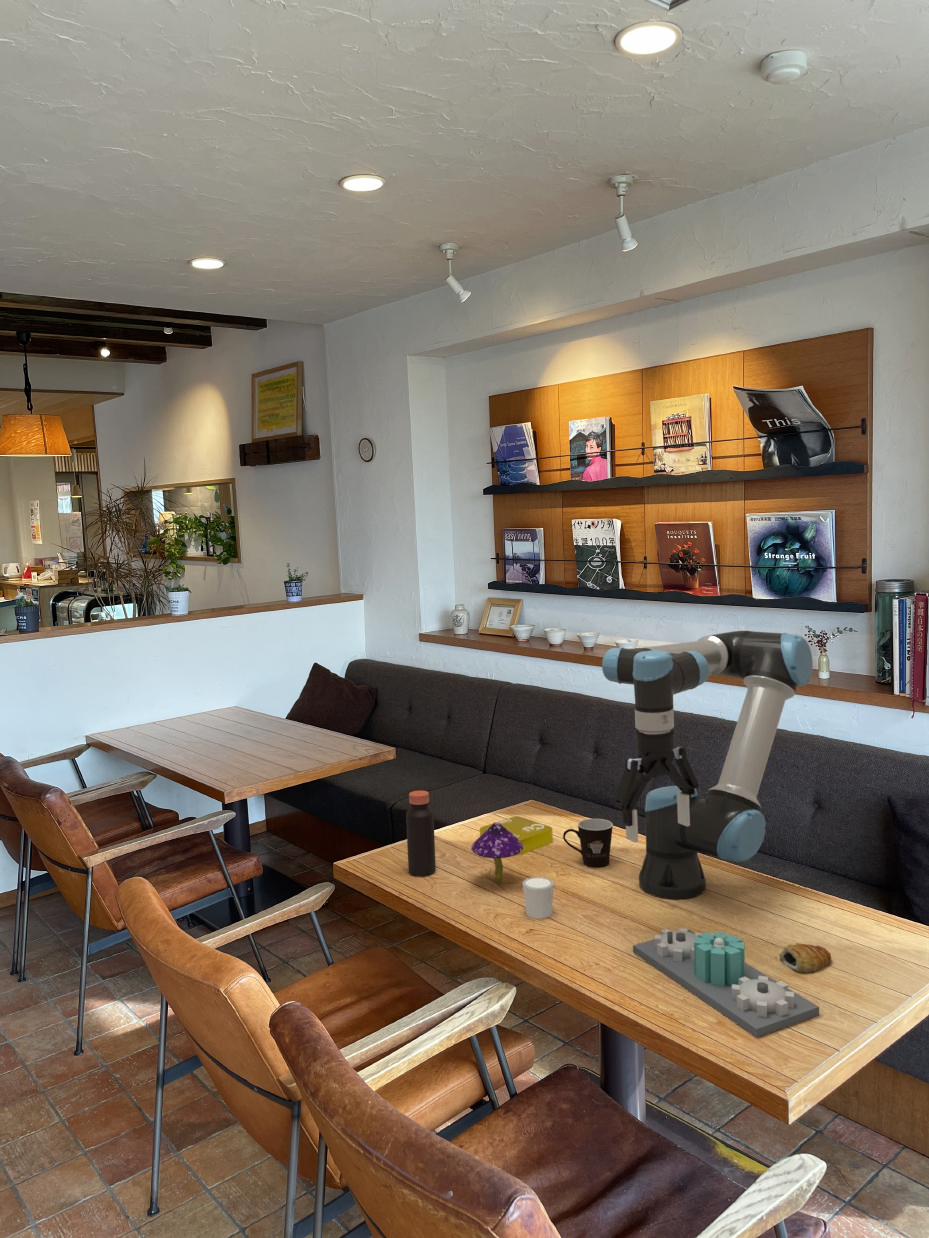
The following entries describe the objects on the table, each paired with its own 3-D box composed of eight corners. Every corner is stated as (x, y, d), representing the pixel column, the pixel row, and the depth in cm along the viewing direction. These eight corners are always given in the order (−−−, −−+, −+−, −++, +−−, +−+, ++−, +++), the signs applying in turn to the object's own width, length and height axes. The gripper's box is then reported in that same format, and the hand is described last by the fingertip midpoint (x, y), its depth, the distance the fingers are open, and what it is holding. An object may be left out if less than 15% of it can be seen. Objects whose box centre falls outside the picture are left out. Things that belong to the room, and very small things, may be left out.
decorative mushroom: (461, 883, 218) (459, 822, 216) (499, 868, 226) (497, 810, 224) (497, 898, 208) (495, 835, 207) (535, 882, 216) (534, 821, 215)
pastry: (815, 951, 179) (815, 933, 178) (840, 967, 172) (841, 948, 172) (776, 961, 175) (776, 942, 175) (800, 977, 169) (801, 958, 169)
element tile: (517, 829, 255) (517, 813, 254) (556, 843, 243) (555, 825, 243) (476, 843, 245) (476, 826, 245) (515, 857, 234) (514, 839, 233)
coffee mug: (618, 860, 229) (617, 821, 228) (605, 872, 221) (605, 832, 220) (575, 852, 235) (575, 815, 234) (562, 864, 227) (561, 825, 226)
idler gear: (721, 957, 174) (721, 927, 173) (754, 978, 166) (754, 946, 165) (684, 969, 170) (684, 938, 169) (716, 990, 162) (716, 958, 162)
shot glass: (552, 920, 196) (552, 889, 195) (521, 919, 197) (520, 888, 197) (556, 907, 203) (555, 877, 202) (525, 905, 204) (524, 875, 203)
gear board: (689, 936, 186) (689, 896, 186) (819, 1015, 156) (819, 968, 155) (633, 952, 180) (632, 911, 180) (756, 1037, 150) (756, 989, 149)
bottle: (433, 877, 222) (429, 797, 220) (405, 876, 223) (402, 797, 221) (438, 866, 229) (435, 789, 226) (411, 866, 230) (408, 789, 228)
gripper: (617, 745, 171) (622, 853, 174) (714, 721, 183) (717, 823, 186) (592, 737, 177) (597, 841, 180) (688, 715, 189) (691, 813, 192)
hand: (658, 832), depth 183 cm, fingers open, 13 cm apart
